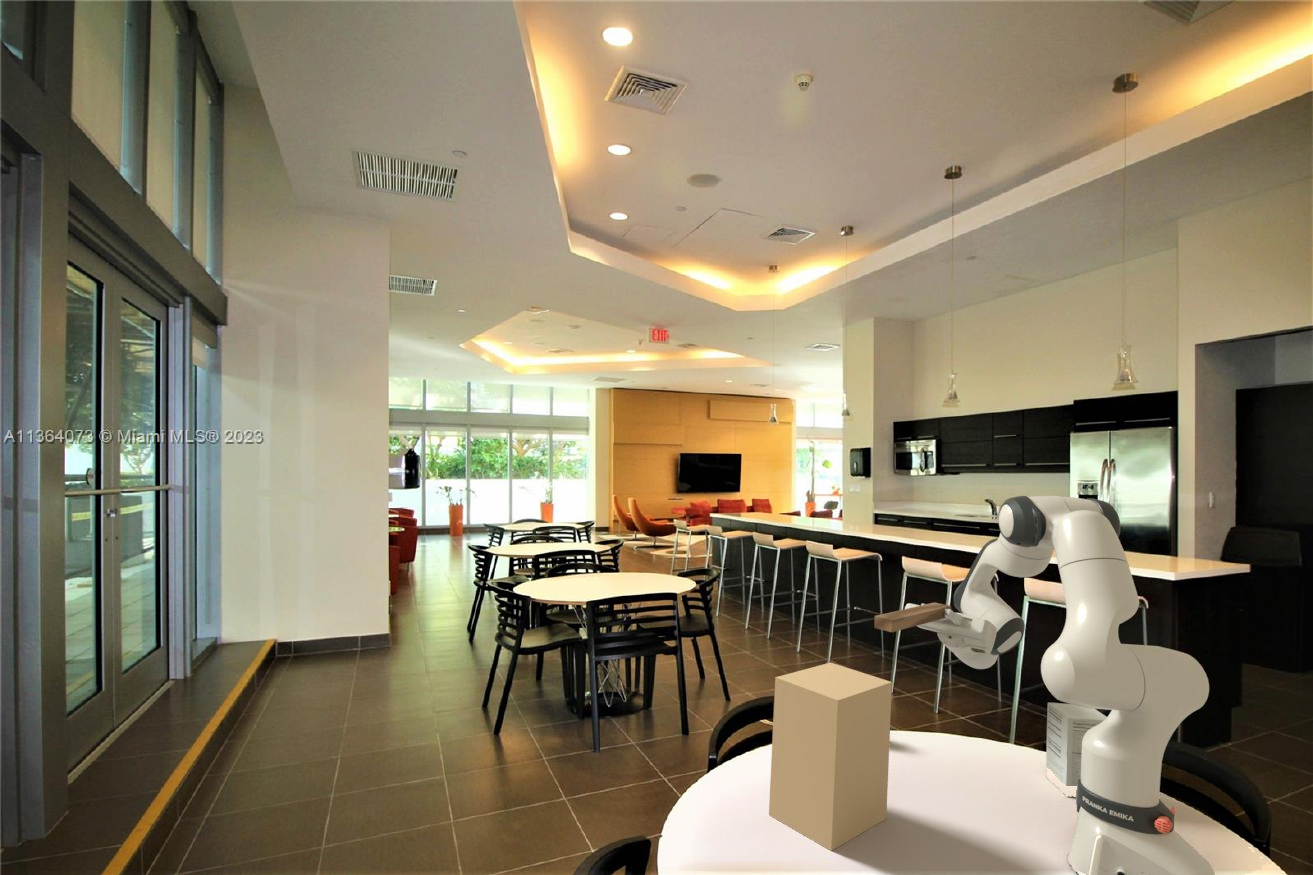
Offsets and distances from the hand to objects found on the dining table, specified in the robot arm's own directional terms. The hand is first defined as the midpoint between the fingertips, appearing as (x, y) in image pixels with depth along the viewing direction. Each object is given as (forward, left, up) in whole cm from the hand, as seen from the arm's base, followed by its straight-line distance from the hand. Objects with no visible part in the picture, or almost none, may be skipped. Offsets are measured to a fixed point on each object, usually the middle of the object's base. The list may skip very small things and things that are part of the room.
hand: (934, 609), depth 152 cm
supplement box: (-25, -17, -36) cm, 47 cm away
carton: (0, +39, -35) cm, 53 cm away
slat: (0, +9, -2) cm, 9 cm away
